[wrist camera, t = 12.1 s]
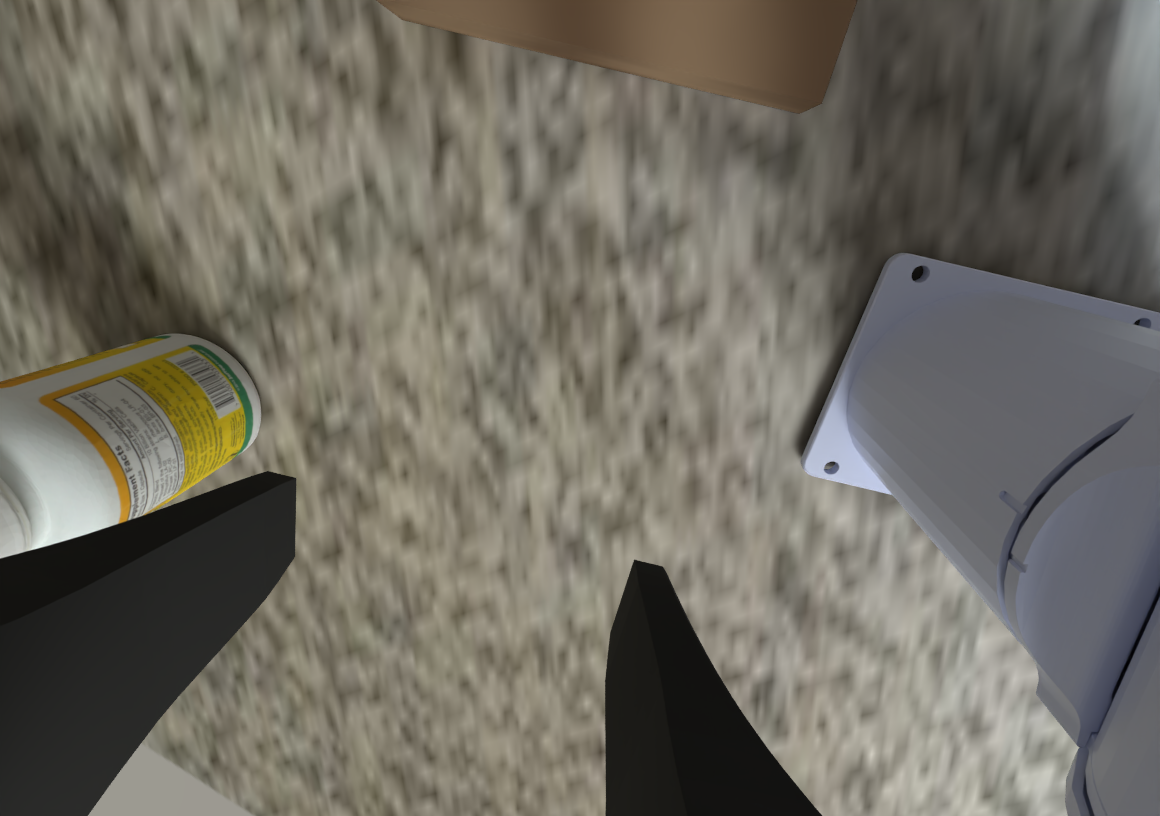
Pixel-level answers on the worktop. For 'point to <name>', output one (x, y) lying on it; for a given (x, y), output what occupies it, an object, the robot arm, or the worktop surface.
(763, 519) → the worktop surface
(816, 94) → the walnut plinth
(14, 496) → the supplement bottle
